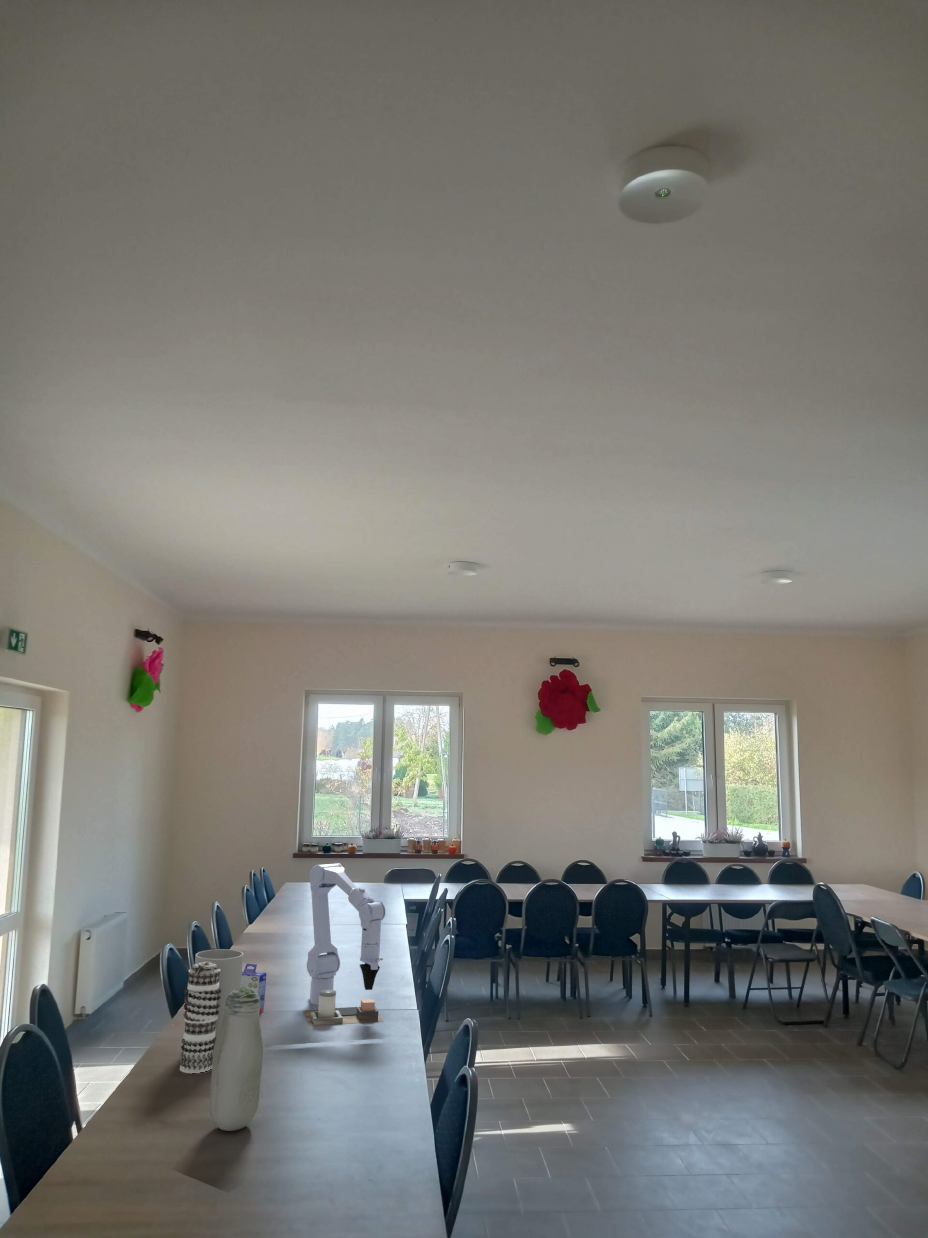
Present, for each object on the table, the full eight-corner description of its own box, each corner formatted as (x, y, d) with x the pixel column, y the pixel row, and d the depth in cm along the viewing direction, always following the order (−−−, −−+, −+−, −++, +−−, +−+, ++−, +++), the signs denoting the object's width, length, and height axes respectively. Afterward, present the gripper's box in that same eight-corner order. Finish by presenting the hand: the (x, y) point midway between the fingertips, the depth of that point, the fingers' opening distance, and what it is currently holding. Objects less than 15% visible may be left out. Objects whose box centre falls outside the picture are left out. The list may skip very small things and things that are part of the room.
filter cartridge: (316, 1018, 258) (318, 990, 259) (333, 1017, 259) (334, 989, 261) (319, 1023, 253) (320, 994, 255) (335, 1022, 255) (337, 993, 256)
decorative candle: (181, 1076, 210) (190, 969, 214) (175, 1064, 218) (183, 961, 222) (218, 1071, 214) (226, 966, 218) (211, 1060, 222) (219, 959, 226)
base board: (302, 1014, 265) (303, 1002, 265) (372, 1010, 271) (373, 999, 272) (309, 1029, 250) (310, 1017, 250) (383, 1025, 256) (383, 1013, 257)
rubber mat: (335, 1009, 268) (335, 1008, 268) (360, 1008, 270) (360, 1007, 270) (339, 1016, 260) (339, 1015, 260) (365, 1015, 263) (365, 1014, 263)
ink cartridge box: (264, 1013, 264) (268, 964, 267) (257, 1018, 259) (260, 968, 261) (235, 1011, 266) (238, 962, 269) (227, 1015, 261) (230, 966, 263)
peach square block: (360, 1010, 261) (360, 999, 262) (372, 1009, 262) (372, 999, 263) (362, 1013, 258) (363, 1003, 259) (374, 1012, 259) (374, 1002, 260)
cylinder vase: (245, 1049, 231) (252, 952, 235) (217, 1063, 220) (225, 961, 224) (206, 1043, 235) (213, 947, 240) (177, 1056, 224) (185, 956, 228)
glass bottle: (232, 1142, 174) (242, 997, 179) (198, 1130, 180) (209, 989, 185) (267, 1126, 183) (276, 988, 188) (233, 1114, 188) (243, 980, 193)
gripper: (388, 947, 258) (386, 995, 256) (378, 938, 272) (376, 983, 269) (365, 948, 256) (363, 996, 254) (356, 938, 270) (354, 984, 267)
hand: (368, 989), depth 261 cm, fingers closed
